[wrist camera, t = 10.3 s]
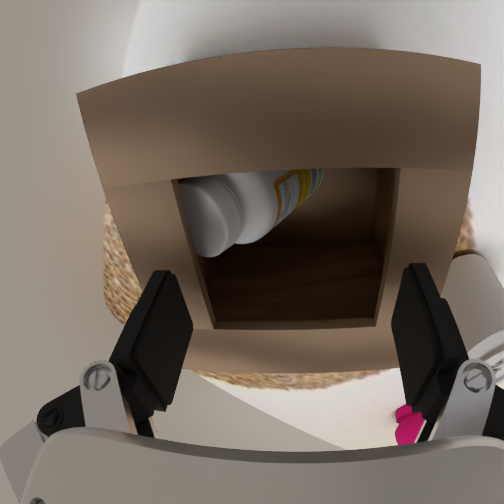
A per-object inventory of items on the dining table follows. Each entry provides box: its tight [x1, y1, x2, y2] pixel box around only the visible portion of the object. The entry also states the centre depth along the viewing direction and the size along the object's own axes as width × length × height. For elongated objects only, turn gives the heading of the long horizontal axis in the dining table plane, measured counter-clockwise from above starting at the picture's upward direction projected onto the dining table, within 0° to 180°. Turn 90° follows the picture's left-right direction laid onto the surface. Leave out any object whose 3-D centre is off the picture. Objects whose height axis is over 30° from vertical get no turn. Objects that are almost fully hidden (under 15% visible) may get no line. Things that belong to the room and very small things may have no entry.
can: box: [440, 254, 504, 385], centre depth 23 cm, size 8×8×12 cm
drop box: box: [76, 48, 481, 373], centre depth 18 cm, size 16×14×13 cm
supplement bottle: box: [179, 168, 324, 257], centre depth 18 cm, size 5×5×10 cm
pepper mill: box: [395, 405, 425, 445], centre depth 37 cm, size 7×7×20 cm
